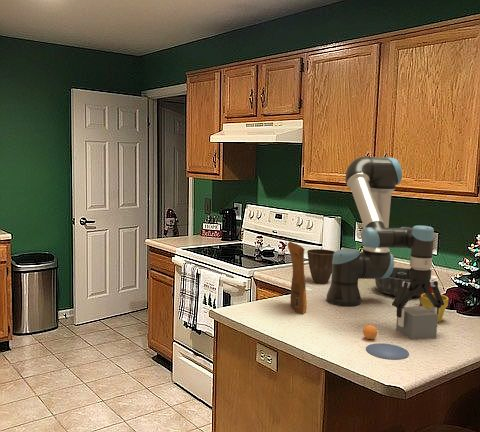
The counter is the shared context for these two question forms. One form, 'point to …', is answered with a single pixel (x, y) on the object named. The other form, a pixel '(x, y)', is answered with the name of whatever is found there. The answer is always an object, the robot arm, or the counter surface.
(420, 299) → the paper cup
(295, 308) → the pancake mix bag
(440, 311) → the plant pot
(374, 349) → the circle
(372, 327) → the ball
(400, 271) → the bundt pan
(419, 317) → the grey matte cube
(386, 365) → the counter surface
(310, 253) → the plant pot
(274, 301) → the counter surface
